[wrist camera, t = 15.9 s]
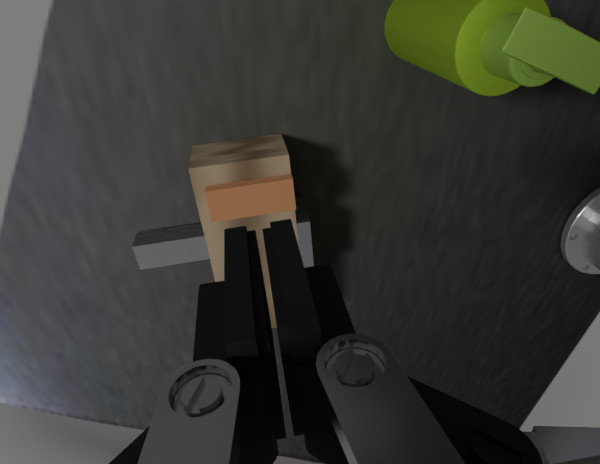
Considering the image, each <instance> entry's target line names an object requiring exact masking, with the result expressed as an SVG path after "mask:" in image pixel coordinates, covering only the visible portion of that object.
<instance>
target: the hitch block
mask: <svg viewBox="0 0 600 464" xmlns="http://www.w3.org/2000/svg"><path fill="white" fill-rule="evenodd" d="M188 169H189V174H190V178H191V182H192V186H193V190H194V194H195V199H196V203H197V207H198V211H199V215H200V219H201V224H202V228H203V232H204V236H205V240H206V244H207V249H208V253H209V257H210V261H211V265H212V269H213V274H214V278H215V282H219V281H224V229H227V228H234V227H241V226H246V227H247V231H252V230H255V231H256V236H257V242H258V248H259V254H260V260H261V266H262V272H263V278H264V284H265V290H266V296H267V302H268V308H269V314H270V320H271V328H277V325H276V318H275V311H274V305H273V298H272V291H271V284H270V278H269V271H268V264H267V258H266V251H265V244H264V237H263V231H262V229H265V228H270V222H273V221H280V220H286V219H291V221H292V224H293V228H294V232H295V235H296V239H297V243H298V246H299V242H298V233H297V224H296V215H295V210H290V211H284V212H277V213H271V214H264V215H258V216H251V217H245V218H238V219H232V220H225V221H219V222H211V217H210V213H209V208H208V204H207V200H206V195H205V186H211V185H218V184H225V183H232V182H239V181H246V180H252V179H259V178H266V177H273V176H280V175H287V174H291V169H290V160H289V153H288V151H287V148H286V145H285V142H284V140H283V137H282V134H277V135H270V136H262V137H255V138H247V139H240V140H233V141H225V142H218V143H211V144H203V145H196V146H193V147H192V152H191V158H190V163H189V168H188Z"/></svg>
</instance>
